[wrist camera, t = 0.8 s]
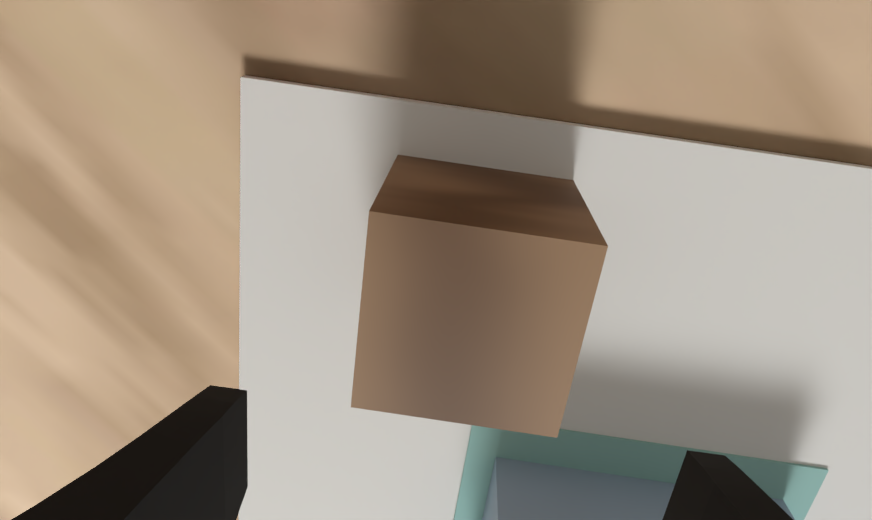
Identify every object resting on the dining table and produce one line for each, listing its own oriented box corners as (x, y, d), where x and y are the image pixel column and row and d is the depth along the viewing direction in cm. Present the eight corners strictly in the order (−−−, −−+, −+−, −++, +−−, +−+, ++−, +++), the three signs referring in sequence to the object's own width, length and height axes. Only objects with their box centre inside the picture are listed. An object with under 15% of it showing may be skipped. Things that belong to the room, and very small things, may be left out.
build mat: (1102, 199, 17) (1119, 205, 16) (824, 665, 25) (831, 678, 24) (245, 75, 17) (239, 77, 17) (241, 578, 25) (237, 589, 25)
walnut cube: (573, 180, 17) (608, 245, 13) (538, 332, 19) (557, 438, 15) (397, 154, 17) (368, 211, 13) (380, 309, 19) (350, 407, 15)
